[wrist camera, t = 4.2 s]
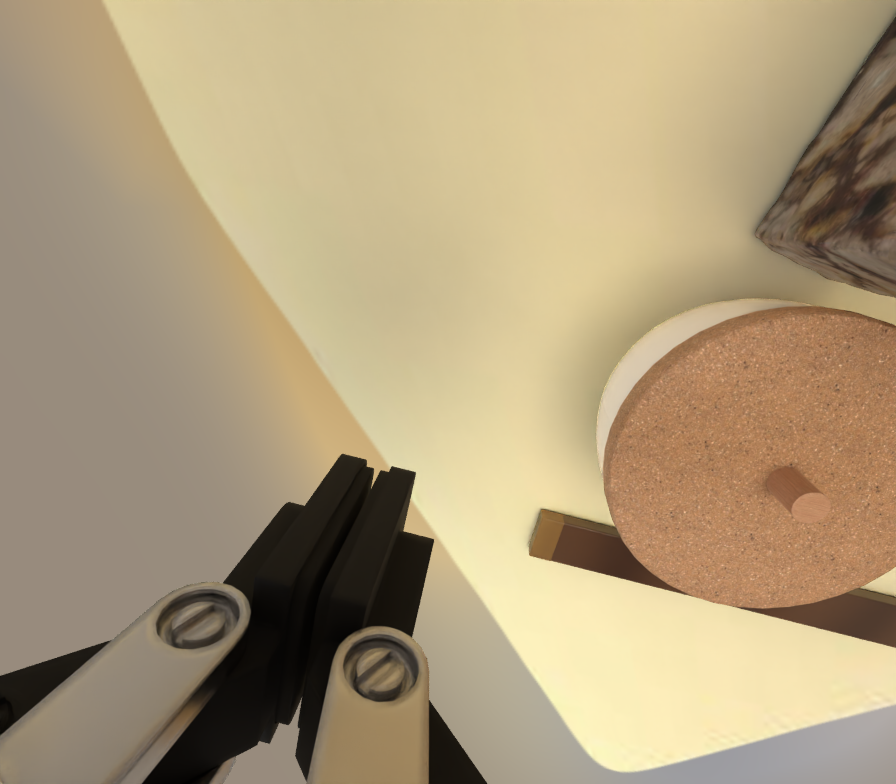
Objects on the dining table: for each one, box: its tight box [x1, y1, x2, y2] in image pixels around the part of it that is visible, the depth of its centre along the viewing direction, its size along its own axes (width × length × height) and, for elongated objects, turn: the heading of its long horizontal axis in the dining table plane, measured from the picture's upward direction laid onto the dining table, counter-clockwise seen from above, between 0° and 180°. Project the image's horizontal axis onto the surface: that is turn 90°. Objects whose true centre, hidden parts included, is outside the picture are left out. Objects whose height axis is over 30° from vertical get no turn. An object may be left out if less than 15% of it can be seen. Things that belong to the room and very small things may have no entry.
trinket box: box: [596, 299, 896, 609], centre depth 18 cm, size 11×11×9 cm
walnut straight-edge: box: [529, 509, 896, 648], centre depth 26 cm, size 21×2×1 cm, turn 78°
